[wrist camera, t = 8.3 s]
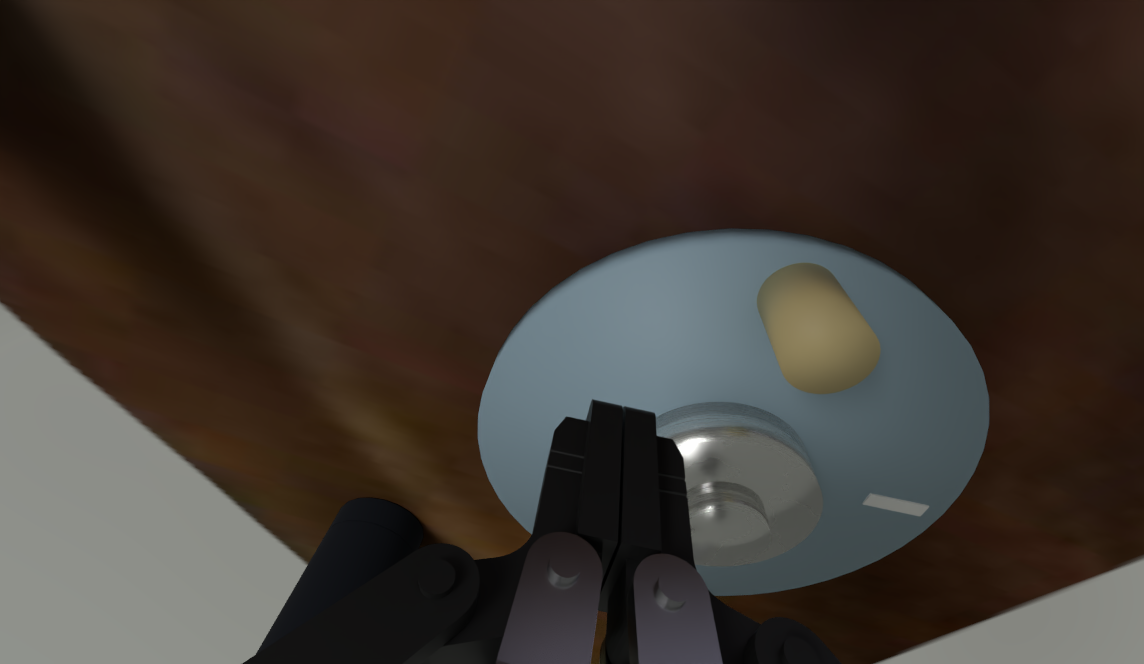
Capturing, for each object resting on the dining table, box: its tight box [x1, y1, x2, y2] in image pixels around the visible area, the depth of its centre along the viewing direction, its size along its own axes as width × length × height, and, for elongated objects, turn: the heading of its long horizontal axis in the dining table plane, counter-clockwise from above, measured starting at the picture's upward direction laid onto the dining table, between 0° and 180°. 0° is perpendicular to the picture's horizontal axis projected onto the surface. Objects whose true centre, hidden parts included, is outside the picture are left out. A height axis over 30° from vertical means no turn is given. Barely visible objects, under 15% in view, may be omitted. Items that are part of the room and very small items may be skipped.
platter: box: [478, 229, 989, 596], centre depth 24 cm, size 24×24×6 cm
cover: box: [656, 402, 823, 567], centre depth 24 cm, size 9×9×4 cm
